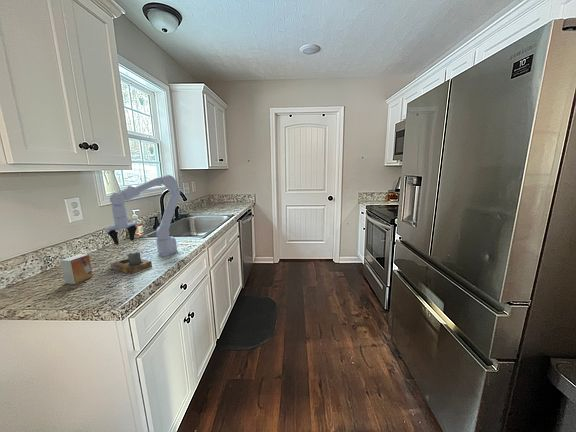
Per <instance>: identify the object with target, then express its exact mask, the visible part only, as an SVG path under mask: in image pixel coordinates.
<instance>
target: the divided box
mask: <svg viewBox="0 0 576 432" xmlns="http://www.w3.org/2000/svg"><path fill="white" fill-rule="evenodd" d="M151 268H153V264H152V260H147V259H143V258H141V264H139V265H136V266H131V265H129V258H128V257H127V258H124V259H120V260H117V261H114V262H111V263H110V269H112V270H115V271H119V272H122V273H125V274H129V275H130V276H132V275H135V274H138V273H140V272H143V271H146V270H148V269H151Z"/></svg>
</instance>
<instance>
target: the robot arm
mask: <svg viewBox="0 0 576 432" xmlns="http://www.w3.org/2000/svg"><path fill="white" fill-rule="evenodd" d="M178 184H179V183H178V181H177V180H176V179H175V177H174V176H172V175H170V174H165V175H163V176H159V177H155V178H153V179H150V180H149V181H147V182H146V181H145V182H144V183H143V184H141V185H138V186H137V185H128V186H127V187H126V188H124V189H121V190H117V192H116V193H115V192H114V193H113V194H111V195H110V197H109V202H110V203H111V210H112V217H113V223H114V225H112V226H109V227H105V228H104V230H105V233H107V235H109V236H110V238H111V240H112V241H113V242H114V243H113V244H114V245H117V246H119V238H118V235H119V233H118V231H119V230H122V229H126V230H127V232H128V236H129V240H130V241H133V242H134V240H135V234H136V232H137V229H138V222H136V221H134V222H129V220H128V213H127V208H126V204H125V202H128V201H131V200H133V199H135V198H137V197H139V196H140V195H141V192H144V191H146V190H149V189H151V188H153V187H156V186H157V187H158V186H159V187H162V185H163V186H164V187H165V188H166V189H167V190H168V192H169V193H170V194H169V196H168V200H167V203H166V206H165V210H164V212H163V215H162V218H161V221H160V224H159V225H158V227H157V228H156V231H155V232H156V234H155V235H156V238H155V240H156V249H157V253H155V254H154V256H155V255H156V256H158V257H159V256H160V257H165V256H166V257H167V256H168V255H172V254H175V253H176V252H178V245H177V240H176V238H175V237H174V236H170V228H171V223H172V220H173V216H174V213H175V211H176V208H177V205H178V201H179V199H180V196H181V191H180V187H179V185H178Z"/></svg>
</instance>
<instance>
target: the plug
mask: <svg viewBox="0 0 576 432" xmlns="http://www.w3.org/2000/svg"><path fill="white" fill-rule="evenodd" d="M127 258H129V265H131V266H136V265H139V264H141V259H142V258H141V253H140V252H138V251H137V250H133V251H131V252H129V253H127Z"/></svg>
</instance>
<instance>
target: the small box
mask: <svg viewBox="0 0 576 432" xmlns="http://www.w3.org/2000/svg"><path fill="white" fill-rule="evenodd" d="M59 262H60V263H59V264H60V268H61V272H62V277H63V282H64V284H69V285H76V284H78V283H81V282H83V281H85V280H88V279H90V278H92V277H94V276H93V269H92V263H91V260H90V254H86V253H85V254H83V253H79V254H78V253H77V254H76V255H73V256H70V257H66V258H64V259H60V260H59Z"/></svg>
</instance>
